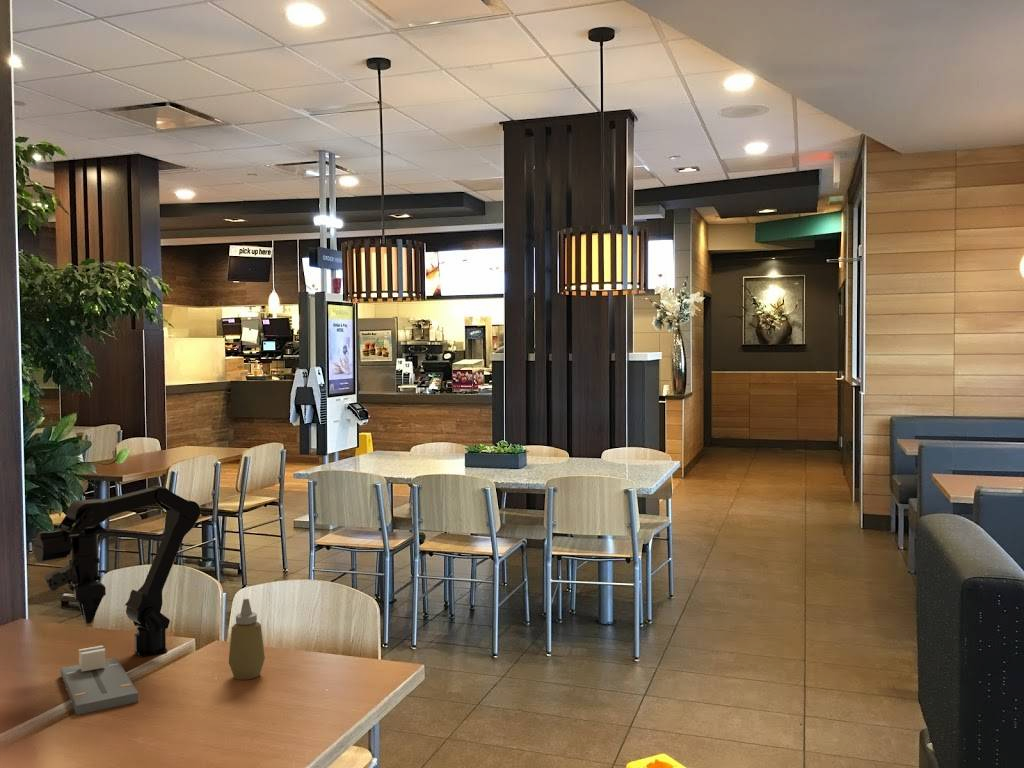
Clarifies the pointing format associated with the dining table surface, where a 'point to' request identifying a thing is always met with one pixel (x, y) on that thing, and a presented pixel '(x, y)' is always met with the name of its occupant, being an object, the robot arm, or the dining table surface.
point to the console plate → (99, 687)
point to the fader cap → (92, 658)
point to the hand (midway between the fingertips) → (86, 619)
